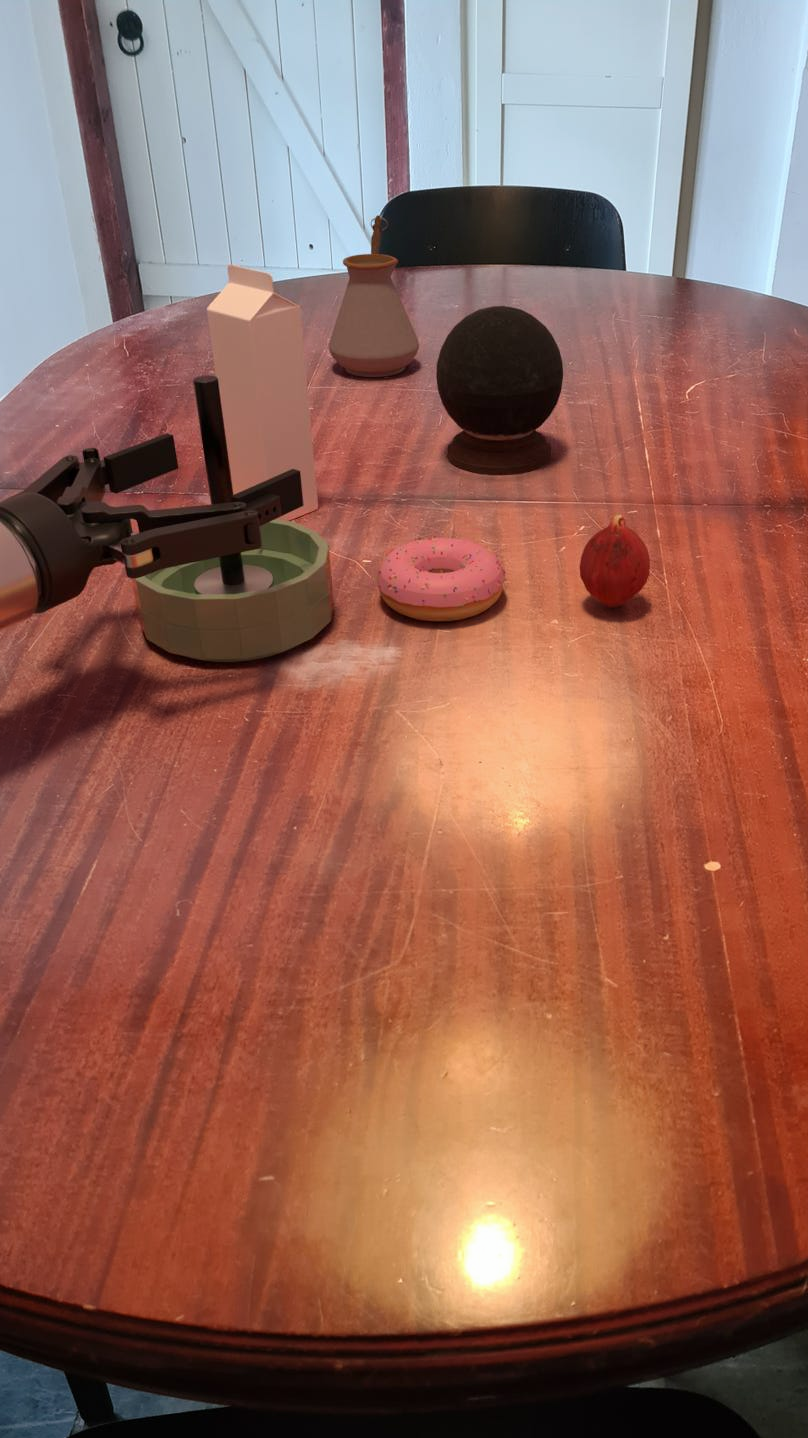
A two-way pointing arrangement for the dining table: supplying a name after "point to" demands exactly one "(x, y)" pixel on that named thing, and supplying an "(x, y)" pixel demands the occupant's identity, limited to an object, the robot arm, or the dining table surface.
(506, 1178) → the dining table surface
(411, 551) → the doughnut
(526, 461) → the black ball on stand
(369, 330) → the coffee pot
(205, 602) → the bowl
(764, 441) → the dining table surface
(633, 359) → the dining table surface
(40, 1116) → the dining table surface
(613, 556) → the onion
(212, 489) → the paper towel holder
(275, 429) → the milk
